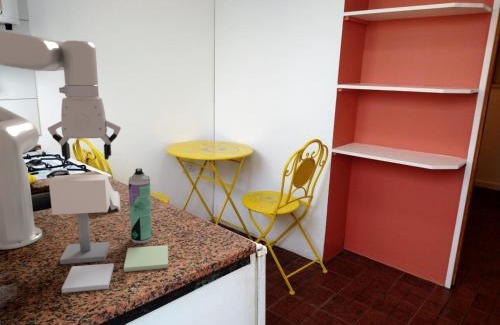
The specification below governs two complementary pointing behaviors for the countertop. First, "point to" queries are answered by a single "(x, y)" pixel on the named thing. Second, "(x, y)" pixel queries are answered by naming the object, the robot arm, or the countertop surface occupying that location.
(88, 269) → the grey square tile
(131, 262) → the green tile
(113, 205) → the white bevelled plastic case
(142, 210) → the spray can
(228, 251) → the countertop surface
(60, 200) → the mounted unit
